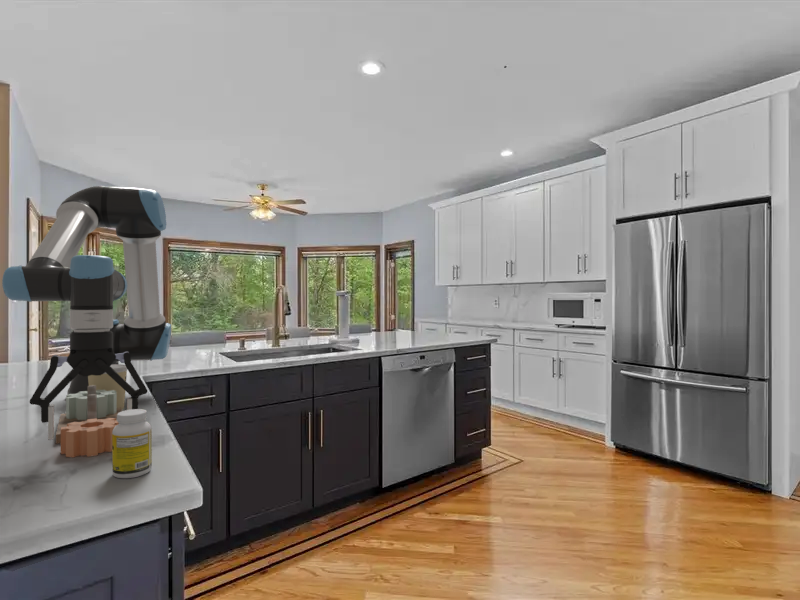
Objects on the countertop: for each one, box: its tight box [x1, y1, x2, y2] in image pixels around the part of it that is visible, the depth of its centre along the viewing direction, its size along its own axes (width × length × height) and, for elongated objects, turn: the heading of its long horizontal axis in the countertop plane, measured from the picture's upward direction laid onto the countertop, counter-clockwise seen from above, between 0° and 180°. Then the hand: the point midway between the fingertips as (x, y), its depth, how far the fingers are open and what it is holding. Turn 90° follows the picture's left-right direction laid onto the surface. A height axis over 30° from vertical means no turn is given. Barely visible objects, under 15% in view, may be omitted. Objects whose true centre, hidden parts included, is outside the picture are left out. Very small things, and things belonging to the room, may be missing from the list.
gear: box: [65, 390, 117, 420], centre depth 118 cm, size 11×11×5 cm
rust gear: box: [60, 418, 119, 458], centre depth 99 cm, size 11×11×5 cm
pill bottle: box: [111, 408, 153, 479], centre depth 86 cm, size 6×6×11 cm
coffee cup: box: [88, 363, 128, 411], centre depth 130 cm, size 9×9×12 cm
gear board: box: [55, 385, 123, 445], centre depth 113 cm, size 20×13×9 cm, turn 33°
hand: (91, 433), depth 98 cm, fingers open, 13 cm apart
